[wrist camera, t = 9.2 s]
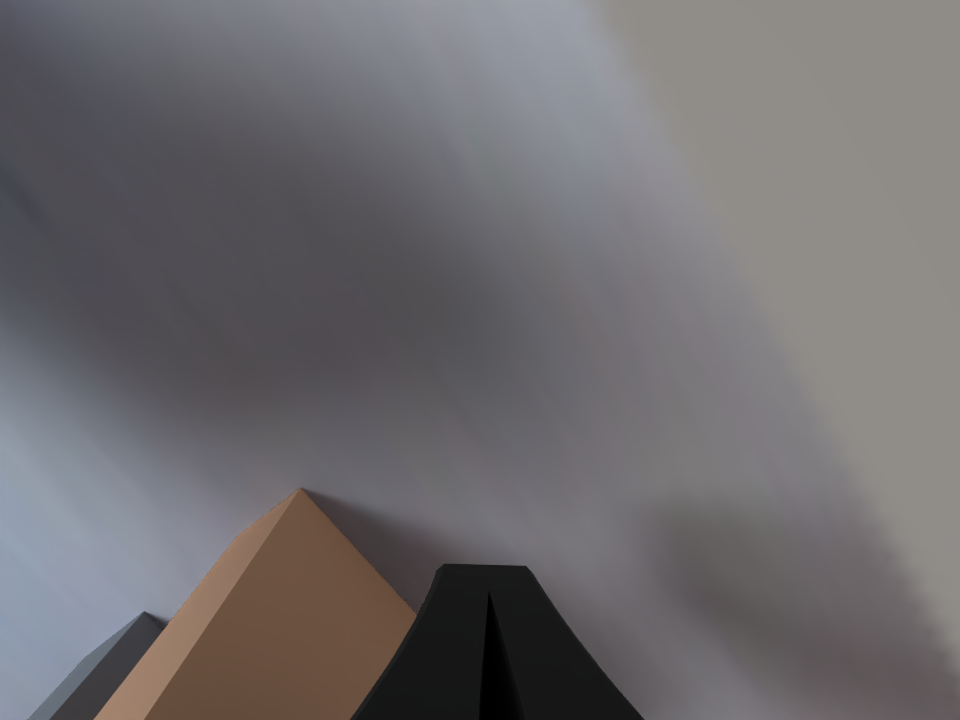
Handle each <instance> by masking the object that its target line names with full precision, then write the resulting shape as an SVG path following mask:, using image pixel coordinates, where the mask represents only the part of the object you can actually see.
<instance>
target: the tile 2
mask: <svg viewBox="0 0 960 720" xmlns="http://www.w3.org/2000/svg"><path fill="white" fill-rule="evenodd" d="M162 631H163V629H162V628H161V627H160V626H159V625H158V624H157V623H156V622H155V621H153V620H152V619H151V618H150V617H149V616H148V615H147V614H146V613H145V612H143V613H141V614H140V615H139V616H137V617H136V618H135V619H134V620H132V621H131V622H130V623H128V624H127V625H126V626H125V627H123V628H122V629H121V630H119V631H118V632H117V633H116V634H114V635H113V636H112V637H110V638H109V639H108V640H107V641H105V642H104V643H103V644H101V645H100V646H99V647H98V648H96V649H95V650H94V651H93V652H91V653H90V654H89V655H87V656H86V657H85V658H84V659H83V660H82V661H81V662H80V663H79V664H78V666H77V667H76V668H75V669H74V670H73V671H72V672H71V673H70V674H69V675H68V676H67V678H66V679H65V680H64V681H63V682H62V683H61V684H60V685H59V686H58V687H57V688H56V689H55V691H54V692H53V693H52V694H51V695H50V696H49V697H48V698H47V699H46V700H45V701H44V702H43V704H42V705H41V706H40V707H39V708H38V709H37V710H36V711H35V712H34V713H33V714H32V716H31V717H30V718H29V719H28V720H94V718H95V717H96V716H97V715H98V713H99V712H100V711H101V710H102V708H103V707H104V706H105V704H106V703H107V702H108V701H109V699H110V698H111V697H112V695H113V694H114V693H115V692H116V690H117V689H118V688H119V686H120V685H121V684H122V683H123V681H124V680H125V679H126V678H127V676H128V675H129V674H130V672H131V671H132V670H133V669H134V667H135V666H136V665H137V663H138V662H139V661H140V660H141V658H142V657H143V656H144V654H145V653H146V652H147V651H148V649H149V648H150V647H151V646H152V644H153V643H154V642H155V640H156V639H157V638H158V637H159V635H160V634H161V633H162Z"/></svg>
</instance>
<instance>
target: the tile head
mask: <svg viewBox="0 0 960 720" xmlns="http://www.w3.org/2000/svg"><path fill="white" fill-rule="evenodd" d="M416 617H417V615H416V614H415V612H414V611H413V610H412V609H411V608H410V607H409V606H408V605H407V604H406V603H405V602H404V600H403V599H402V598H401V597H400V596H399V595H398V594H397V593H396V592H395V591H394V589H393V588H392V587H391V586H390V585H389V584H388V583H387V582H386V581H385V580H384V579H383V577H382V576H381V575H380V574H379V573H378V572H377V571H376V570H375V569H374V568H373V566H372V565H371V564H370V563H369V562H368V561H367V560H366V559H365V558H364V557H363V556H362V554H361V553H360V552H359V551H358V550H357V549H356V548H355V547H354V546H353V545H352V544H351V542H350V541H349V540H348V539H347V538H346V537H345V536H344V535H343V534H342V533H341V531H340V530H339V529H338V528H337V527H336V526H335V525H334V524H333V523H332V522H331V521H330V519H329V518H328V517H327V516H326V515H325V514H324V513H323V512H322V511H321V510H320V509H319V507H318V506H317V505H316V504H315V503H314V502H313V501H312V500H311V499H310V498H309V496H308V495H307V494H306V493H305V492H304V491H303V490H302V489H301V488H299V489H298V490H297V491H296V492H294V493H293V494H292V495H290V496H289V497H288V498H286V499H285V500H284V501H282V502H281V503H280V504H279V505H277V506H276V507H275V508H273V509H272V510H271V511H269V512H268V513H267V514H266V515H264V516H263V517H262V518H260V519H259V520H258V521H256V522H255V523H254V524H252V525H251V526H250V527H249V528H247V529H246V530H245V531H243V532H242V533H241V534H239V535H238V536H237V537H236V538H235V539H234V541H233V542H232V543H231V544H230V546H229V547H228V548H227V549H226V551H225V552H224V553H223V555H222V556H221V557H220V558H219V560H218V561H217V562H216V564H215V565H214V566H213V567H212V569H211V570H210V571H209V573H208V574H207V575H206V576H205V578H204V579H203V580H202V581H201V583H200V584H199V585H198V587H197V588H196V589H195V590H194V592H193V593H192V594H191V596H190V597H189V598H188V599H187V601H186V602H185V603H184V605H183V606H182V607H181V608H180V610H179V611H178V612H177V613H176V615H175V616H174V617H173V619H172V620H171V621H170V622H169V624H168V625H167V626H166V628H165V629H164V630H163V631H162V633H161V634H160V635H159V637H158V638H157V639H156V640H155V642H154V643H153V644H152V646H151V647H150V648H149V649H148V651H147V652H146V653H145V654H144V656H143V657H142V658H141V660H140V661H139V662H138V663H137V665H136V666H135V667H134V669H133V670H132V671H131V672H130V674H129V675H128V676H127V678H126V679H125V680H124V681H123V683H122V684H121V685H120V686H119V688H118V689H117V690H116V692H115V693H114V694H113V695H112V697H111V698H110V699H109V701H108V702H107V703H106V704H105V706H104V707H103V708H102V710H101V711H100V712H99V713H98V715H97V716H96V717H95V718H94V720H350V718H351V717H352V716H353V714H354V713H355V712H356V710H357V709H358V708H359V706H360V705H361V703H362V702H363V700H364V699H365V697H366V696H367V694H368V693H369V692H370V690H371V689H372V687H373V686H374V684H375V683H376V681H377V680H378V679H379V677H380V676H381V674H382V673H383V671H384V670H385V668H386V667H387V665H388V664H389V662H390V661H391V659H392V658H393V656H394V654H395V653H396V651H397V649H398V648H399V646H400V644H401V643H402V641H403V639H404V637H405V636H406V634H407V632H408V631H409V629H410V627H411V626H412V624H413V622H414V620H415V619H416Z"/></svg>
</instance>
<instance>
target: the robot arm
mask: <svg viewBox="0 0 960 720" xmlns="http://www.w3.org/2000/svg"><path fill="white" fill-rule="evenodd" d="M350 720H644V718H643V717H642V716H641V715H640V714H639V713H638V712H637V711H636V709H635V708H634V707H633V706H632V705H631V704H630V703H629V701H628V700H627V699H626V698H625V697H624V696H623V695H622V693H621V692H620V691H619V690H618V689H617V688H616V686H615V685H614V684H613V683H612V682H611V680H610V679H609V678H608V677H607V675H606V674H605V673H604V672H603V671H602V669H601V668H600V667H599V666H598V664H597V663H596V662H595V660H594V659H593V658H592V657H591V655H590V654H589V653H588V651H587V650H586V649H585V648H584V646H583V645H582V644H581V642H580V641H579V640H578V639H577V637H576V636H575V635H574V633H573V632H572V630H571V629H570V628H569V626H568V625H567V624H566V622H565V621H564V619H563V618H562V617H561V615H560V614H559V612H558V611H557V609H556V608H555V607H554V605H553V604H552V602H551V601H550V599H549V598H548V596H547V595H546V593H545V592H544V590H543V589H542V587H541V586H540V584H539V582H538V581H537V579H536V578H535V576H534V574H533V573H532V572H531V571H530V570H529V569H528V567H527V566H510V565H471V564H443V565H442V566H441V567H440V568H439V569H438V570H437V571H436V574H435V577H434V580H433V583H432V585H431V588H430V590H429V593H428V595H427V597H426V599H425V601H424V603H423V605H422V607H421V609H420V611H419V613H418V615H417V617H416V619H415V620H414V622H413V624H412V626H411V627H410V629H409V631H408V632H407V634H406V636H405V637H404V639H403V641H402V643H401V644H400V646H399V648H398V649H397V651H396V653H395V654H394V656H393V658H392V659H391V661H390V662H389V664H388V665H387V667H386V668H385V670H384V671H383V673H382V674H381V676H380V677H379V679H378V680H377V681H376V683H375V684H374V686H373V687H372V689H371V690H370V692H369V693H368V694H367V696H366V697H365V699H364V700H363V702H362V703H361V705H360V706H359V708H358V709H357V710H356V712H355V713H354V714H353V716H352V717H351V718H350Z"/></svg>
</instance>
